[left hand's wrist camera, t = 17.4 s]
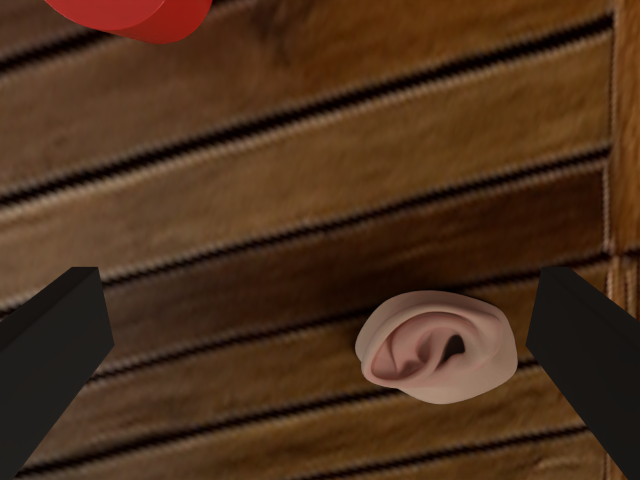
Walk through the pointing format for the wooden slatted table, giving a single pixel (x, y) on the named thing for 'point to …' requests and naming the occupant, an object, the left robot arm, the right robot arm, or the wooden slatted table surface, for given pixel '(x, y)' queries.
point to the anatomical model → (437, 346)
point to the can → (137, 17)
